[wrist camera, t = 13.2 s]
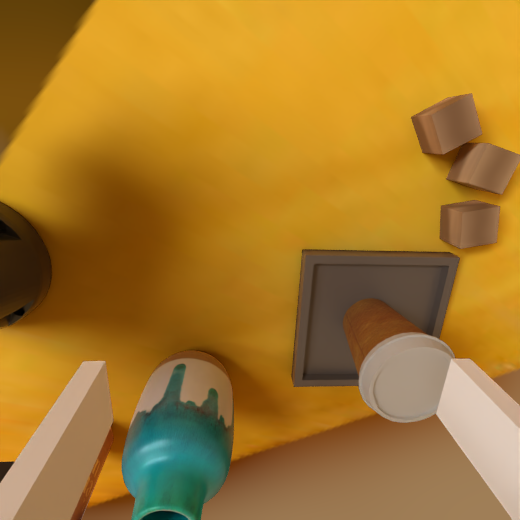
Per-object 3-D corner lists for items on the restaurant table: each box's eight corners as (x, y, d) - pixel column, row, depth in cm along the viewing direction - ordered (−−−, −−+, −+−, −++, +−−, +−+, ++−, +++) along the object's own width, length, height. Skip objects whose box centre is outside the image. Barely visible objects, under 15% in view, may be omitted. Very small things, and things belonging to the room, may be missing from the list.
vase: (147, 397, 45) (89, 569, 27) (157, 330, 42) (98, 475, 24) (226, 407, 47) (219, 577, 29) (241, 343, 43) (245, 489, 25)
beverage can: (63, 419, 46) (-14, 545, 31) (107, 411, 46) (50, 534, 31) (78, 451, 48) (12, 583, 33) (120, 444, 48) (72, 573, 34)
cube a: (439, 238, 40) (460, 248, 37) (440, 205, 39) (462, 212, 35) (472, 233, 40) (496, 242, 37) (474, 199, 39) (500, 206, 35)
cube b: (445, 178, 38) (468, 183, 34) (462, 142, 37) (488, 143, 33) (475, 189, 38) (501, 194, 35) (493, 154, 37) (522, 155, 34)
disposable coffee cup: (418, 320, 43) (483, 386, 32) (359, 365, 45) (400, 441, 33) (375, 270, 40) (430, 322, 29) (314, 320, 42) (343, 387, 31)
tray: (291, 376, 46) (293, 386, 44) (302, 249, 39) (305, 255, 38) (419, 375, 47) (427, 384, 45) (449, 252, 41) (459, 257, 39)
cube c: (422, 152, 37) (443, 154, 33) (410, 117, 35) (431, 114, 32) (456, 134, 36) (482, 134, 33) (446, 97, 35) (471, 93, 31)
